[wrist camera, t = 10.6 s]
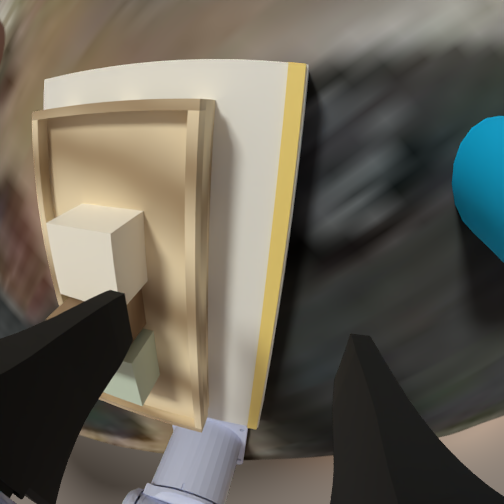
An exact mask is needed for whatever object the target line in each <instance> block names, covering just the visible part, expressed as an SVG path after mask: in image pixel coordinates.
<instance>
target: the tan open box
mask: <svg viewBox="0 0 504 504" xmlns="http://www.w3.org/2000/svg"><path fill="white" fill-rule="evenodd" d="M215 101H216V100H211V99H142V100H125V101H111V102H100V103H90V104H81V105H73V106H66V107H59V108H52V109H46V110H40V111H34V112H32V138H33V157H34V171H35V181H36V191H37V199H38V207H39V214H40V220H41V227H42V232H43V238H44V243H45V249H46V253H47V258H48V263H49V267H50V272H51V276H52V280H53V284H54V288H55V292H56V296H57V300H58V303H59V307H58V308H57V309H56V310H55V311H54V312H53V313H52V314H51V315H50V316H49V317H48V318H47V319H46V320H48V319H50V318H52V317H54V316H57V315H59V314H61V313H63V312H64V311H66V310H68V309H70V308H72V307H74V306H76V305H78V304H80V303H82V302H84V301H82V300H79V299H75V298H72V297H69V296H66V295H63V294H60V290H59V286H58V282H57V277H56V273H55V268H54V264H53V259H52V254H51V248H50V243H49V237H48V231H47V225H46V223H47V222H49V221H51V220H52V219H54V218H56V217H58V216H60V215H61V214H63V213H65V212H67V211H69V210H71V209H73V208H74V207H76V206H78V205H80V204H91V205H100V206H108V207H116V208H124V209H132V210H140V211H143V212H144V235H145V252H146V266H147V278H148V281H147V282H146V283H145V285H144V286H143V287H142V288H141V289H140V290H139V291H138V293H137V294H136V295H135V296H134V297H133V298H132V300H131V301H130V302H129V303H128V304H127V310H128V316H129V321H130V327H131V332H132V337H133V341H134V340H135V339H136V337H137V336H138V334H139V333H140V332H141V330H142V329H143V328H144V329H147V330H151V331H154V339H155V346H156V353H157V359H158V366H159V372H160V375H159V377H158V379H157V381H156V383H155V385H154V386H153V388H152V390H151V392H150V394H149V395H148V397H147V399H146V401H145V403H144V405H143V406H140V405H137V404H134V403H131V402H129V401H126V400H123V399H120V398H118V397H115V396H112V395H110V394H107V393H104V392H103V393H102V394H101V396H100V398H99V399H100V400H102V401H105V402H107V403H110V404H113V405H115V406H118V407H121V408H123V409H126V410H129V411H132V412H134V413H137V414H140V415H143V416H146V417H149V418H152V419H155V420H159V421H162V422H165V423H168V424H172V425H175V426H179V427H182V428H186V429H190V430H193V431H197V432H201V433H202V431H203V428H204V425H205V423H206V420H207V417H208V407H209V383H208V257H209V219H210V191H211V169H212V149H213V132H214V116H215ZM133 341H132V343H133Z"/></svg>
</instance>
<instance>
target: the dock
mask: <svg viewBox="0 0 504 504" xmlns="http://www.w3.org/2000/svg"><path fill="white" fill-rule="evenodd" d="M308 76H309V67H308V65H306V64H303V63H293V62H288V63H287V62H275V61H261V60H237V59H196V60H172V61H158V62H146V63H136V64H127V65H120V66H112V67H105V68H99V69H93V70H87V71H82V72H77V73H72V74H67V75H62V76H58V77H54V78H49V79H45V82H44V110H46V109H52V108H59V107H66V106H73V105H81V104H90V103H100V102H111V101H125V100H142V99H211V100H216V101H215V116H214V132H213V149H212V169H211V191H210V219H209V257H208V383H209V407H208V418H212V419H217V420H221V421H226V422H230V423H235V424H240V425H245V426H247V428H251V429H257V428H258V425H259V421H260V416H261V412H262V407H263V402H264V396H265V391H266V385H267V379H268V374H269V368H270V362H271V356H272V350H273V344H274V338H275V332H276V326H277V320H278V313H279V307H280V301H281V294H282V288H283V281H284V274H285V267H286V260H287V253H288V246H289V239H290V232H291V225H292V217H293V209H294V202H295V194H296V186H297V178H298V169H299V161H300V152H301V144H302V135H303V126H304V116H305V106H306V96H307V86H308Z"/></svg>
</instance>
